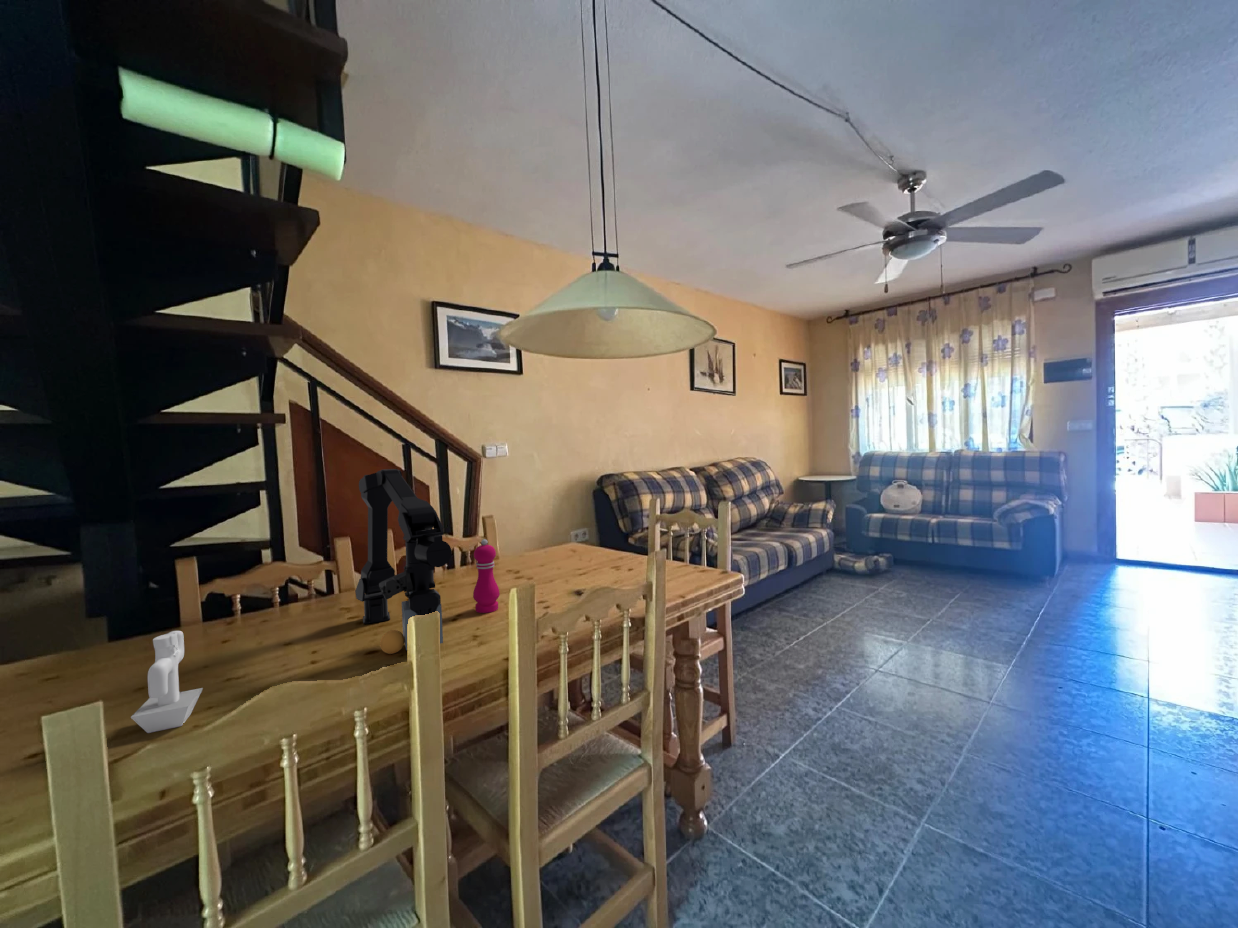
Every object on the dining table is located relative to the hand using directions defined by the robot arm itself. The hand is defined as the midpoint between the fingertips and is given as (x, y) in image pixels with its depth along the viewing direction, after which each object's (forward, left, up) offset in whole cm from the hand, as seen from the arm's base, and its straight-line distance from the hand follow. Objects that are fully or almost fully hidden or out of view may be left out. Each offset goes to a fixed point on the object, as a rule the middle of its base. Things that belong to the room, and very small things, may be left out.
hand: (422, 627), depth 114 cm
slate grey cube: (0, 0, -3) cm, 3 cm away
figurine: (+13, -41, -5) cm, 43 cm away
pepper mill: (-20, +19, -5) cm, 28 cm away
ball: (0, -6, -2) cm, 7 cm away
